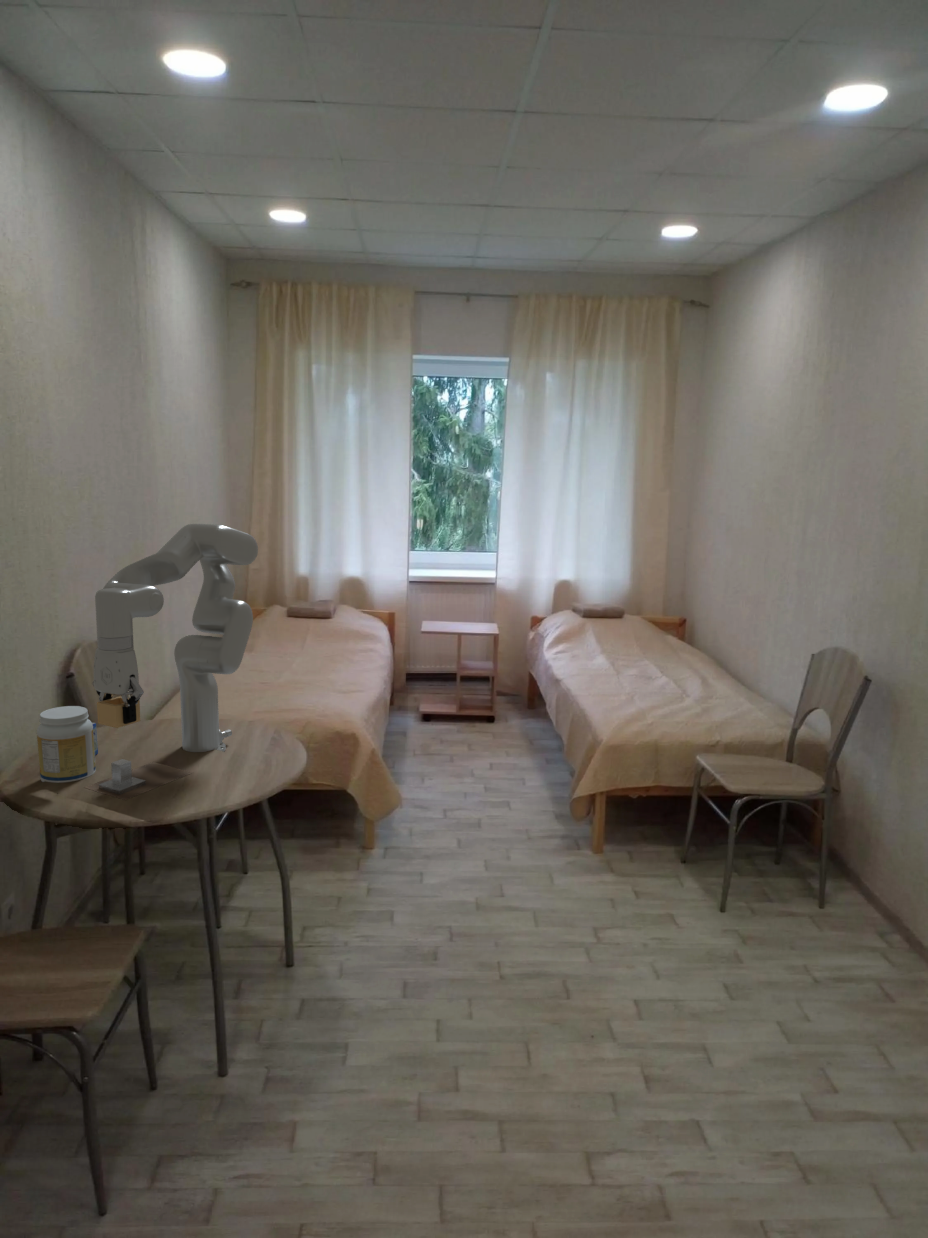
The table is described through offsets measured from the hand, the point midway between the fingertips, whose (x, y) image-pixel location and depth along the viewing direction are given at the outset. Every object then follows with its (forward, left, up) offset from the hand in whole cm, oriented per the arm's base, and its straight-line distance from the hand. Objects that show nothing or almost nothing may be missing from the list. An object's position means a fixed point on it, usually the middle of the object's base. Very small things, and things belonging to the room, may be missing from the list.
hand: (119, 719), depth 189 cm
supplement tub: (+1, -18, -18) cm, 26 cm away
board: (-5, 0, -18) cm, 18 cm away
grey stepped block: (0, 0, -16) cm, 16 cm away
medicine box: (-10, -28, -18) cm, 35 cm away
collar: (0, 0, -1) cm, 1 cm away
